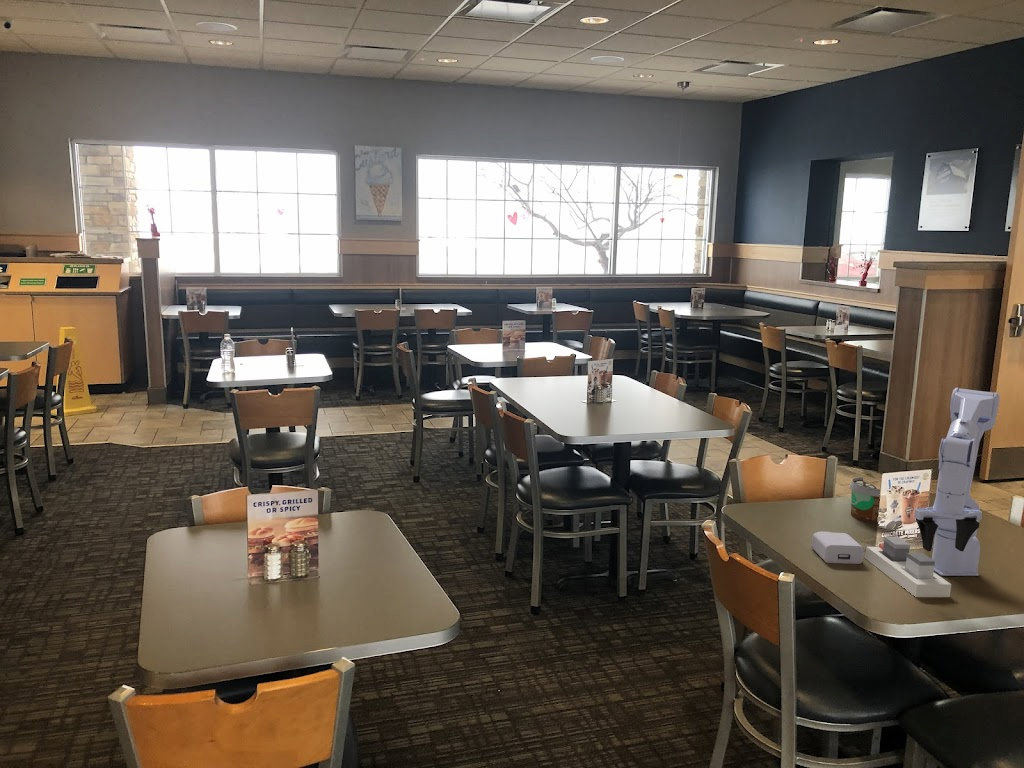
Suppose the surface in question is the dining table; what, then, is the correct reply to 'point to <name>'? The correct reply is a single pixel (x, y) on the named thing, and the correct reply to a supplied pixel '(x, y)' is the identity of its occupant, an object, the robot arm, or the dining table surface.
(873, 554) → the power strip
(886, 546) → the charcoal plug
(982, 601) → the dining table surface
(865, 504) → the food container
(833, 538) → the charger
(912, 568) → the grey plug
